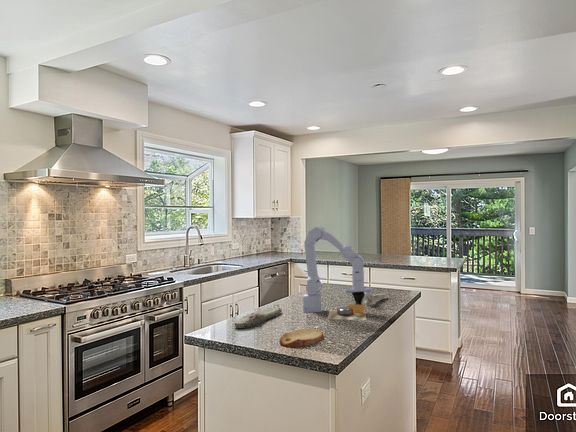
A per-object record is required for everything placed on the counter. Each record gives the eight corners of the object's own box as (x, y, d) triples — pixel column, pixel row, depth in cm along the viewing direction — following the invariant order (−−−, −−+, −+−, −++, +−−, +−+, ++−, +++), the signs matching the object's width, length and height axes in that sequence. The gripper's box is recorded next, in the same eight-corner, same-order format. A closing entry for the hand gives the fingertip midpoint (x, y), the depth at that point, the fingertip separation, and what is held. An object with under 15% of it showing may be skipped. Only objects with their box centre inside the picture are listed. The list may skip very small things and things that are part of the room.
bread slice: (322, 333, 164) (322, 324, 164) (326, 347, 146) (326, 337, 146) (279, 334, 164) (279, 325, 164) (279, 348, 146) (279, 338, 146)
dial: (336, 315, 187) (336, 305, 187) (337, 311, 195) (337, 302, 195) (363, 316, 185) (363, 306, 185) (363, 312, 193) (363, 302, 193)
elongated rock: (286, 316, 198) (270, 315, 203) (286, 305, 199) (270, 304, 204) (247, 330, 168) (229, 328, 173) (247, 318, 168) (228, 316, 173)
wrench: (386, 303, 230) (364, 307, 206) (383, 302, 232) (361, 306, 208) (387, 289, 231) (365, 292, 207) (384, 289, 232) (362, 291, 208)
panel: (327, 321, 182) (327, 318, 182) (329, 311, 200) (329, 309, 200) (366, 322, 179) (366, 320, 179) (365, 312, 197) (365, 310, 197)
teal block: (353, 318, 182) (353, 318, 182) (355, 318, 182) (355, 317, 182) (355, 319, 180) (355, 319, 180) (358, 319, 180) (358, 318, 180)
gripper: (368, 278, 199) (368, 304, 199) (341, 279, 196) (342, 306, 196) (374, 280, 192) (374, 307, 192) (346, 281, 189) (346, 309, 189)
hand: (358, 307), depth 194 cm, fingers closed
